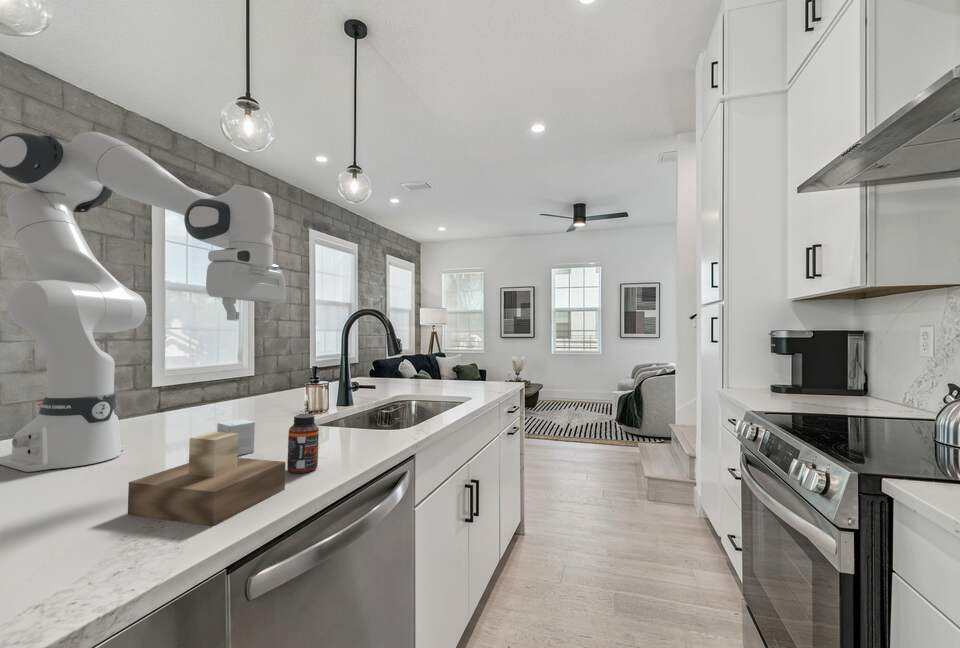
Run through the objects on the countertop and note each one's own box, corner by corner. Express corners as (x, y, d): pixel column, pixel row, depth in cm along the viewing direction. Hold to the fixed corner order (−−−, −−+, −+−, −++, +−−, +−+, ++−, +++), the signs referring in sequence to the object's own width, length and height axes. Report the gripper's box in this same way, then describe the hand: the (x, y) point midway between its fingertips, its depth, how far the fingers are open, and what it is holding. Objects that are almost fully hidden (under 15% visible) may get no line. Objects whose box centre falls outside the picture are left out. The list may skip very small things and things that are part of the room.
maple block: (188, 474, 73) (189, 438, 73) (213, 465, 77) (214, 431, 78) (213, 477, 71) (214, 440, 72) (237, 468, 76) (238, 433, 76)
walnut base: (127, 514, 68) (128, 482, 68) (211, 481, 84) (212, 455, 84) (213, 526, 65) (214, 491, 65) (284, 489, 80) (285, 461, 80)
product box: (254, 452, 105) (255, 421, 105) (227, 458, 100) (228, 425, 100) (242, 448, 108) (243, 418, 108) (215, 453, 103) (216, 422, 103)
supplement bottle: (307, 475, 88) (308, 419, 89) (280, 473, 90) (282, 417, 90) (323, 466, 94) (324, 413, 95) (298, 464, 95) (299, 412, 96)
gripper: (270, 266, 108) (269, 322, 108) (201, 250, 88) (198, 319, 88) (293, 266, 107) (291, 322, 106) (227, 249, 87) (225, 319, 87)
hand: (249, 321), depth 97 cm, fingers open, 8 cm apart
